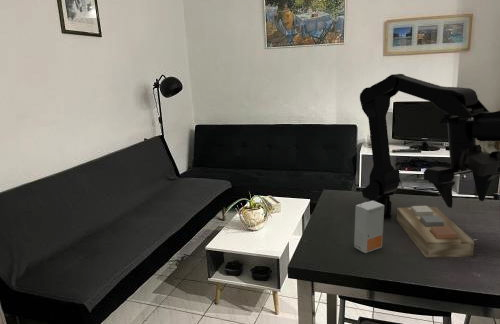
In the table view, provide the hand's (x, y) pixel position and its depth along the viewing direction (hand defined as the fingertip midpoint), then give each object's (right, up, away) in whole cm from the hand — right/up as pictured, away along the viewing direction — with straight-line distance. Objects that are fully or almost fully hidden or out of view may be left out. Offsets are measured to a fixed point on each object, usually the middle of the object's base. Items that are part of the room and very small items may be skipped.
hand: (465, 204), depth 93 cm
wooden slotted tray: (-4, -10, +9) cm, 14 cm away
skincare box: (-22, -12, +5) cm, 26 cm away
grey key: (-4, -7, +9) cm, 12 cm away
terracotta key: (-5, -9, +2) cm, 10 cm away
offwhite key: (-4, -5, +15) cm, 17 cm away
